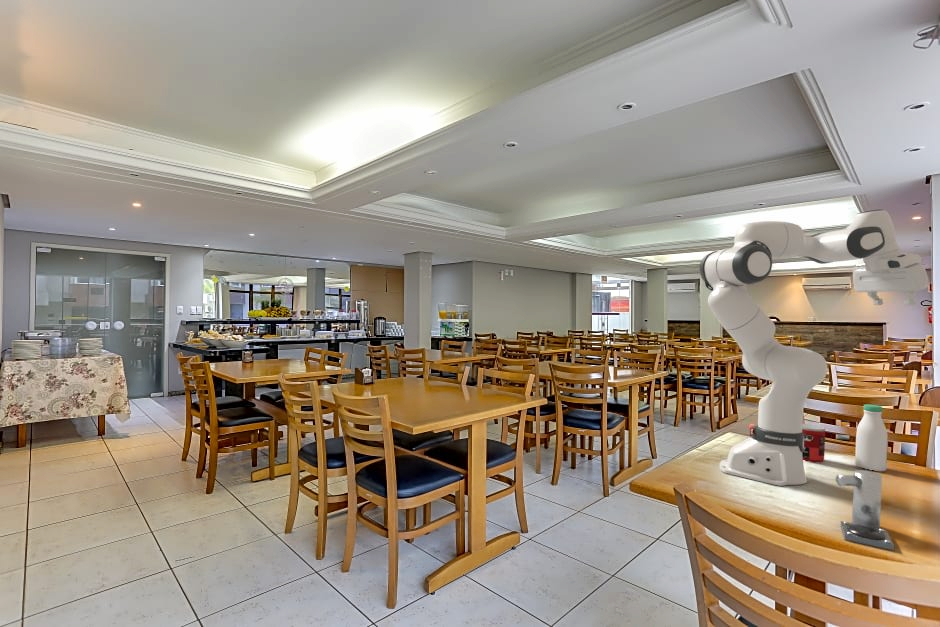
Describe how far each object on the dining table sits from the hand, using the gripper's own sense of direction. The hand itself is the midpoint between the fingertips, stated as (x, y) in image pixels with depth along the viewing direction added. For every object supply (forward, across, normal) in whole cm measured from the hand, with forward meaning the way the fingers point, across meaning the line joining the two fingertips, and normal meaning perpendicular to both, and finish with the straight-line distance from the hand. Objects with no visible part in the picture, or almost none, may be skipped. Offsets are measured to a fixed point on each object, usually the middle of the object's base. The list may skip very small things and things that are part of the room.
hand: (894, 304), depth 147 cm
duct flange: (+34, +37, -62) cm, 80 cm away
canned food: (+45, -15, -29) cm, 56 cm away
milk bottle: (+49, -5, -17) cm, 53 cm away
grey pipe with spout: (+35, +31, -58) cm, 75 cm away
